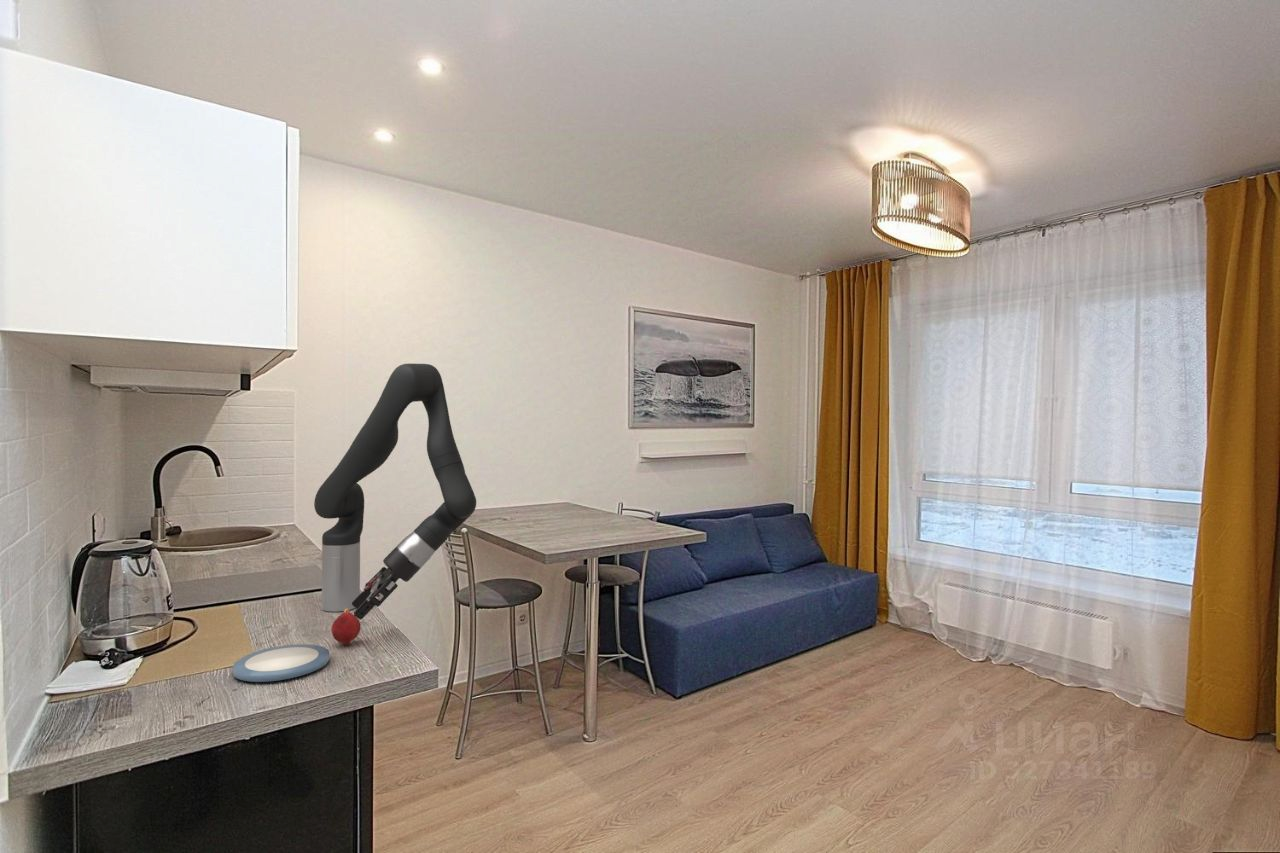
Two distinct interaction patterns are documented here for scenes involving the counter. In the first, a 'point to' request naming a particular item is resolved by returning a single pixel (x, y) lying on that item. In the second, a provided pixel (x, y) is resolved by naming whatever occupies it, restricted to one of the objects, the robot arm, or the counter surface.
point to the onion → (346, 627)
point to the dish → (280, 662)
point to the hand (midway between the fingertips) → (355, 611)
